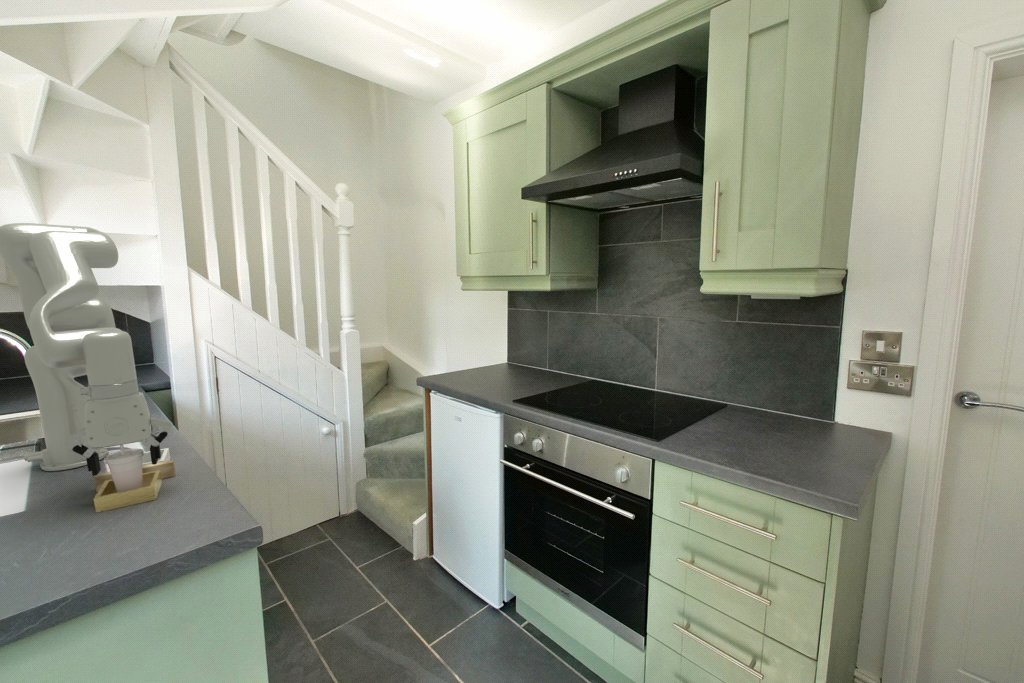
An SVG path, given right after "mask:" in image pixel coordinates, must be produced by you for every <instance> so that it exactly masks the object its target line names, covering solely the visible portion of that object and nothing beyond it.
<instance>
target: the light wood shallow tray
mask: <svg viewBox="0 0 1024 683" xmlns="http://www.w3.org/2000/svg"><path fill="white" fill-rule="evenodd" d="M162 483H163V479H162V478H161V471H160V470H158V471H153V472H148V473H142V488H137V489H132V490H128V491H123V492H117V490H116V487H115V484H114V481H113V479H111V480H106V481H105V482H104V483H103V485H102V486H101V488H100V490H99V491H98V492H96V494H95V496H94V497H93V505H94V508H95V513H96V514H98V513H102V512H106V511H111V510H115V509H119V508H125V507H128V506H133V505H139V504H141V503H145V502H152V501H155V500H157V498H158V495H159V492H160V489H161V487H162Z"/></svg>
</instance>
